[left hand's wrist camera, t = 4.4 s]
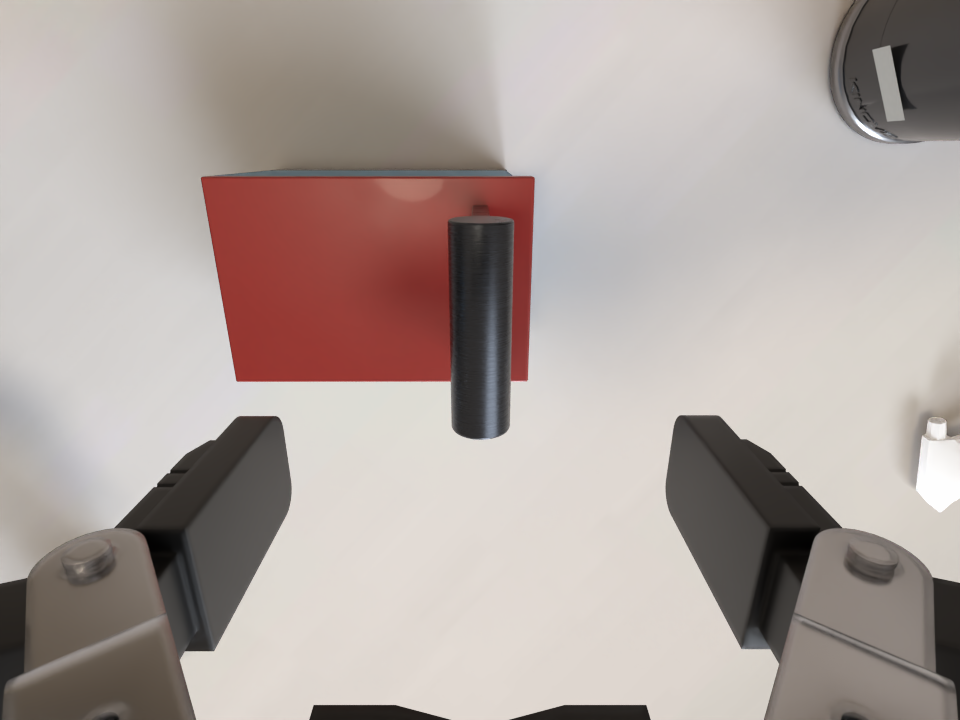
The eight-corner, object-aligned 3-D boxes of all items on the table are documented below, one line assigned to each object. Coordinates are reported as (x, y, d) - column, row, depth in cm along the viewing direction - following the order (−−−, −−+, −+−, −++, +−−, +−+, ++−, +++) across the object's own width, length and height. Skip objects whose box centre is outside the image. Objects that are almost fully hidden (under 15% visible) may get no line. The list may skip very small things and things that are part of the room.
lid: (532, 175, 24) (559, 187, 16) (526, 374, 28) (545, 465, 20) (209, 175, 24) (76, 188, 16) (243, 375, 28) (147, 465, 20)
